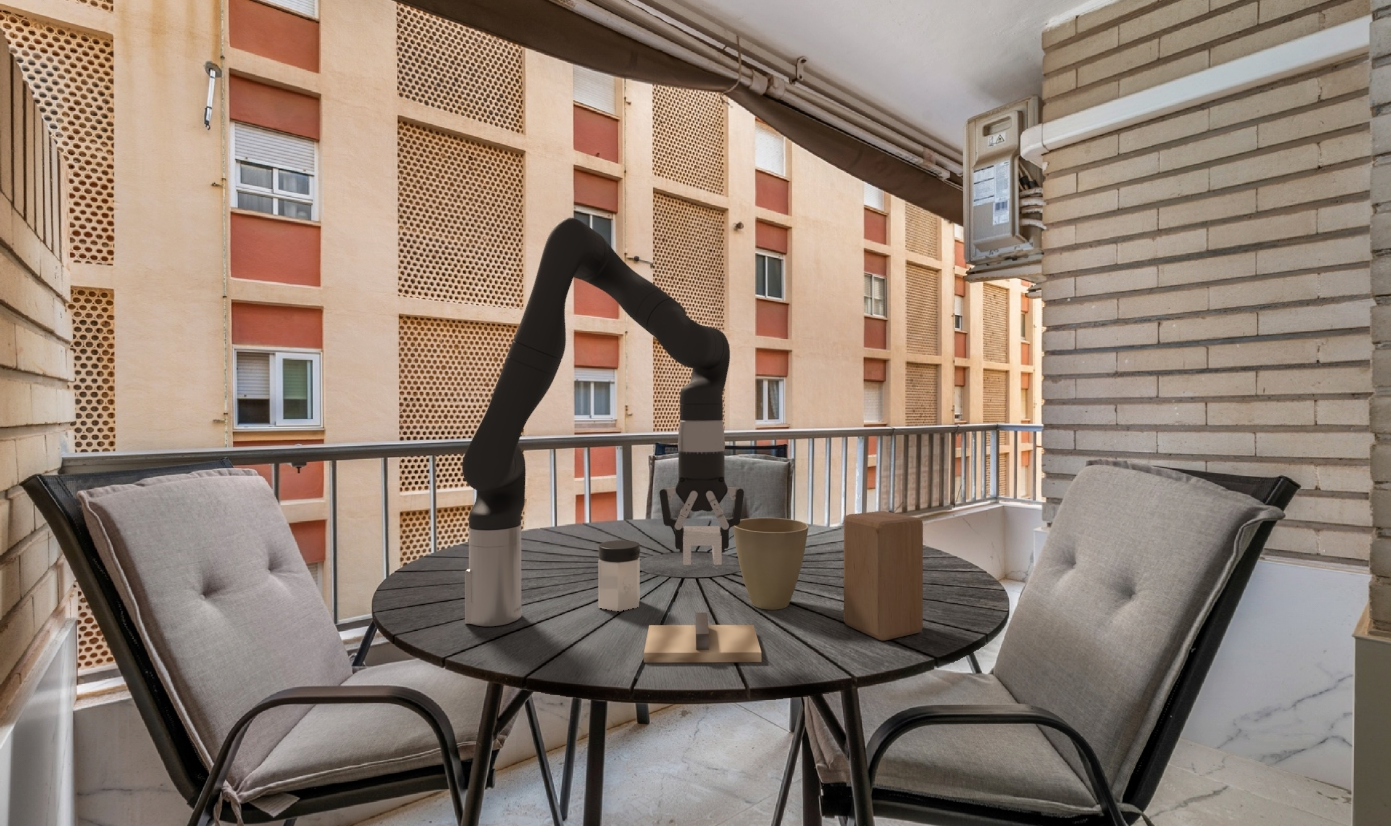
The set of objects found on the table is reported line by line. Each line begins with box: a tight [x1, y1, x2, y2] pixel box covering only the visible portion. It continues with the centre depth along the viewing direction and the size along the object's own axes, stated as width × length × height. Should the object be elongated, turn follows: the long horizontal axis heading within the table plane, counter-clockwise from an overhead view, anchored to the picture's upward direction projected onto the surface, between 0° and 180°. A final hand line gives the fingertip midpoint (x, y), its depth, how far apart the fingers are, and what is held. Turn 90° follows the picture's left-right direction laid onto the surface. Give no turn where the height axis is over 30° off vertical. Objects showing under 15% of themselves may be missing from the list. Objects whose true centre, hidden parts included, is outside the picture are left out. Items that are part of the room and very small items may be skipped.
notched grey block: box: [682, 525, 723, 566], centre depth 100 cm, size 6×8×4 cm
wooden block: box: [843, 510, 924, 642], centre depth 108 cm, size 10×10×20 cm
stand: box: [643, 612, 762, 664], centre depth 100 cm, size 18×12×4 cm, turn 90°
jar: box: [597, 539, 641, 612], centre depth 122 cm, size 9×8×12 cm
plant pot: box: [732, 517, 809, 611], centre depth 122 cm, size 15×15×16 cm
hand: (701, 551), depth 100 cm, fingers closed on notched grey block, 6 cm apart
